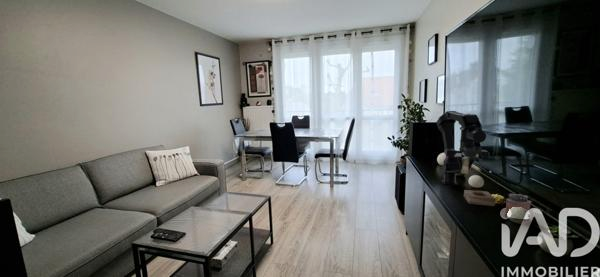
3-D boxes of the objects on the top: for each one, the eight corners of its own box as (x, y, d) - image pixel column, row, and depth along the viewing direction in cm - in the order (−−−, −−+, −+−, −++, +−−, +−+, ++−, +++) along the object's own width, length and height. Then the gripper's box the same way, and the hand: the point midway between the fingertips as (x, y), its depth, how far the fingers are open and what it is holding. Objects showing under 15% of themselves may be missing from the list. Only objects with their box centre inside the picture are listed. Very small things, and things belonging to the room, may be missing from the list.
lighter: (526, 217, 105) (529, 194, 103) (530, 220, 101) (533, 197, 100) (503, 214, 107) (505, 192, 106) (506, 218, 104) (509, 195, 103)
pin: (460, 172, 132) (461, 157, 131) (467, 172, 131) (468, 157, 130) (462, 173, 130) (463, 158, 128) (468, 174, 129) (470, 158, 127)
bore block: (463, 196, 127) (464, 189, 126) (487, 198, 124) (487, 191, 123) (469, 203, 119) (469, 196, 118) (494, 206, 115) (495, 198, 115)
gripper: (450, 141, 123) (448, 172, 126) (495, 142, 117) (492, 175, 120) (445, 137, 134) (443, 166, 136) (486, 138, 128) (484, 168, 130)
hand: (464, 169), depth 130 cm, fingers closed on pin, 3 cm apart
